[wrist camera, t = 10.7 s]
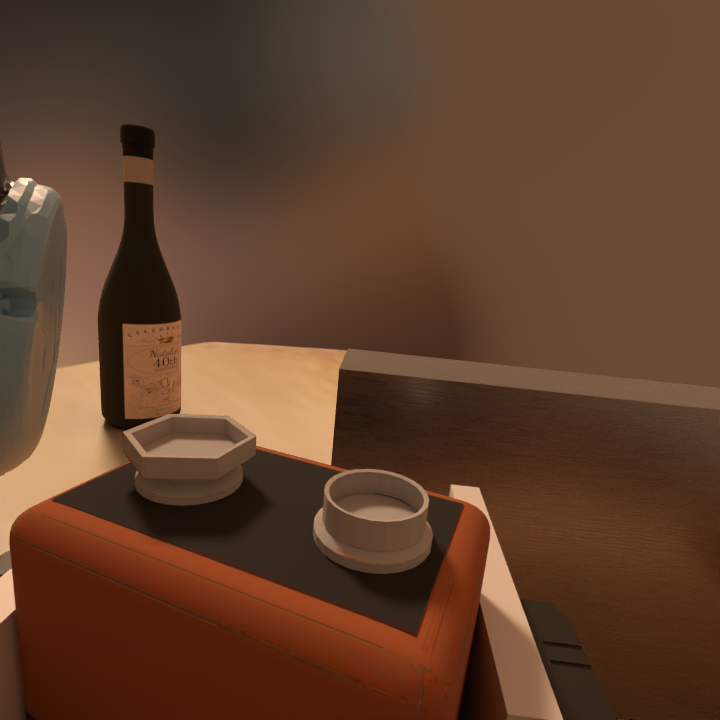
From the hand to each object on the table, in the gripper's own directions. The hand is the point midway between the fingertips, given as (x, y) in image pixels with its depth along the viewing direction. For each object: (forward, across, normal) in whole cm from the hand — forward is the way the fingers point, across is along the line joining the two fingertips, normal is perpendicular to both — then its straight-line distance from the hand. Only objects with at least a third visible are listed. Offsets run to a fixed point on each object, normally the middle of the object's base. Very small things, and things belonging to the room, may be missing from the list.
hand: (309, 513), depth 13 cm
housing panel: (+10, +13, -14) cm, 21 cm away
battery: (-5, 0, -6) cm, 8 cm away
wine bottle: (+37, -24, -14) cm, 46 cm away
